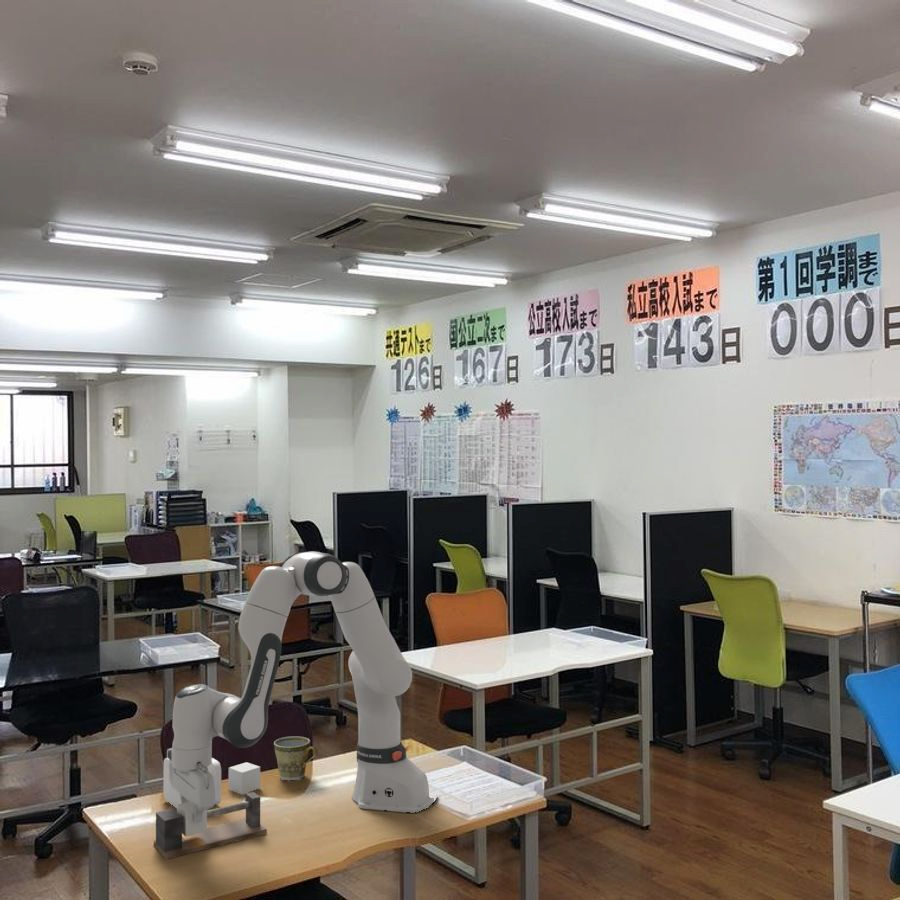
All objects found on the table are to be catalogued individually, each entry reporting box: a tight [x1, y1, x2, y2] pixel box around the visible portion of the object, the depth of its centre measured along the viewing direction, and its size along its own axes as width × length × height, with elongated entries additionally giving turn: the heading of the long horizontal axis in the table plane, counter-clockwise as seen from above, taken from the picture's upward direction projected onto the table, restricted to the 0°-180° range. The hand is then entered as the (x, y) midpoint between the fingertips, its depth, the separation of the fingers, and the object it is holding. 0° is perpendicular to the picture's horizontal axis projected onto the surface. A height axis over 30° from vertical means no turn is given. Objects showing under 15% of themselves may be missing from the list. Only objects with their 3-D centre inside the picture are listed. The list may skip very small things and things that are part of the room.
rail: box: [153, 791, 268, 859], centre depth 215 cm, size 24×9×8 cm, turn 126°
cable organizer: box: [163, 757, 222, 809], centre depth 238 cm, size 15×11×12 cm
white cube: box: [176, 802, 208, 837], centre depth 212 cm, size 5×6×6 cm
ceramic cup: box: [273, 736, 318, 781], centre depth 256 cm, size 13×10×10 cm
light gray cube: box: [228, 761, 261, 795], centre depth 248 cm, size 6×6×6 cm
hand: (191, 816), depth 212 cm, fingers closed on white cube, 5 cm apart
